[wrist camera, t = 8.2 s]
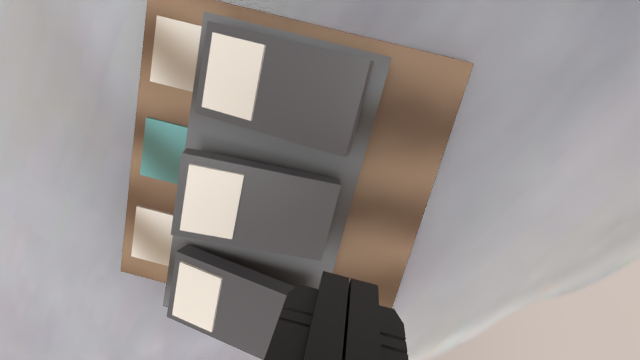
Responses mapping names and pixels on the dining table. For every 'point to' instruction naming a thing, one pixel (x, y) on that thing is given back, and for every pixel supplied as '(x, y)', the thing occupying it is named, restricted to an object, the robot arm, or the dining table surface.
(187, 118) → the switch panel
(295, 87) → the rocker
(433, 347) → the dining table surface
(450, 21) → the dining table surface
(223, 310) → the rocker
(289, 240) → the block
